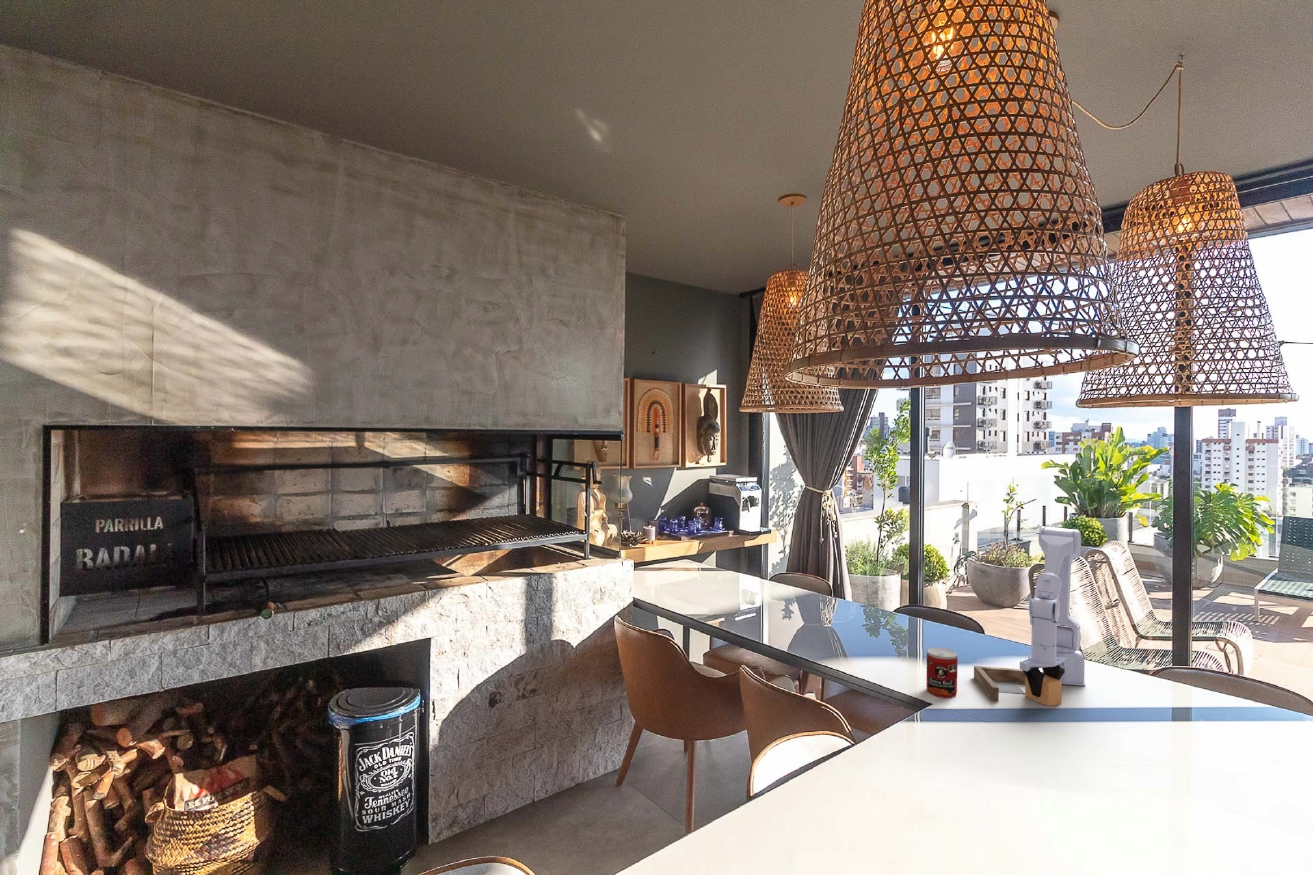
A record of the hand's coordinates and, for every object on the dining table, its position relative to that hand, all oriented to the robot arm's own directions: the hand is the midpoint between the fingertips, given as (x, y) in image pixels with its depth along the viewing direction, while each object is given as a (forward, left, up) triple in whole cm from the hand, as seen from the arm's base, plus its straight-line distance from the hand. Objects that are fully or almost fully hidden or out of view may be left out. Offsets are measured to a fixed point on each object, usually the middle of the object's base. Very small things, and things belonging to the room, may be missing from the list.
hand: (1043, 694), depth 175 cm
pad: (+7, -8, -1) cm, 11 cm away
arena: (+5, -5, -2) cm, 7 cm away
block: (0, 0, -1) cm, 1 cm away
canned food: (+26, +1, -2) cm, 26 cm away
